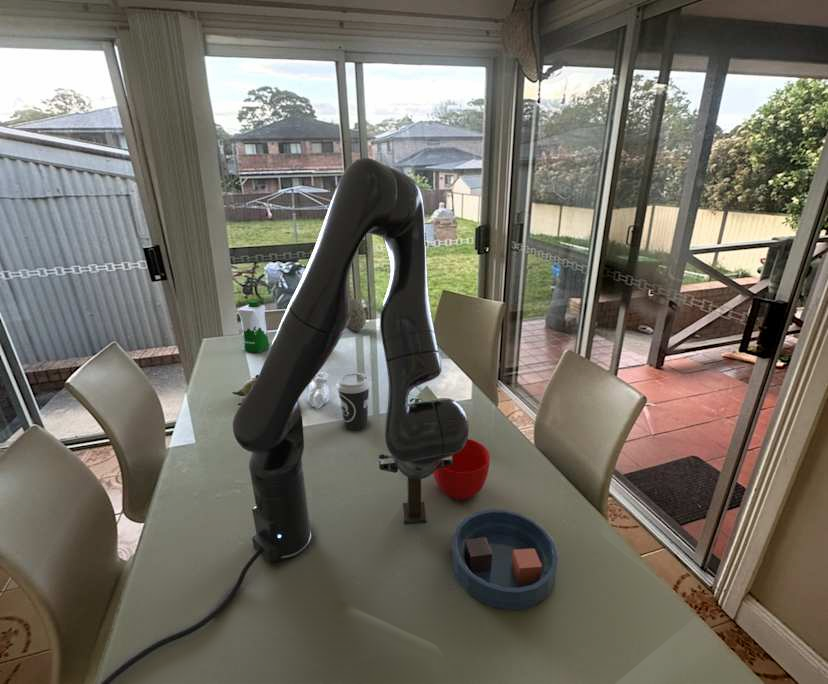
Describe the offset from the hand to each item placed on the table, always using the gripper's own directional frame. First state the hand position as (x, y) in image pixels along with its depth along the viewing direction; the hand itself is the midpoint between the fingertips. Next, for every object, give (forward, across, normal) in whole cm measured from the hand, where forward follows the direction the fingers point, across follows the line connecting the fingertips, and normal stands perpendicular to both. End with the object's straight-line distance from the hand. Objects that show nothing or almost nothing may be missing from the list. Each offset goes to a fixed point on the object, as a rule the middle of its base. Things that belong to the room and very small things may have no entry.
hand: (413, 467), depth 86 cm
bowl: (+2, -15, +19) cm, 24 cm away
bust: (+49, +26, -28) cm, 62 cm away
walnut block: (+1, -11, +18) cm, 21 cm away
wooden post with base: (+8, 0, +8) cm, 12 cm away
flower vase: (+41, -8, -21) cm, 47 cm away
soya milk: (+82, +57, -63) cm, 118 cm away
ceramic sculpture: (+52, +45, -32) cm, 76 cm away
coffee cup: (+38, +14, -18) cm, 44 cm away
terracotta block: (-1, -19, +20) cm, 28 cm away
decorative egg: (+96, +17, -76) cm, 123 cm away
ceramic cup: (+18, -10, +3) cm, 20 cm away
